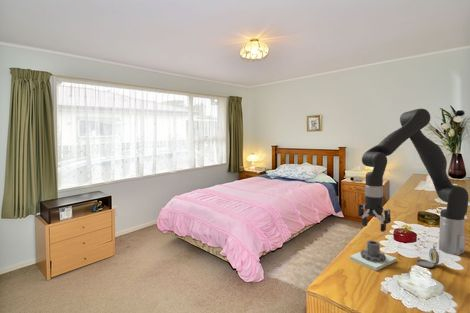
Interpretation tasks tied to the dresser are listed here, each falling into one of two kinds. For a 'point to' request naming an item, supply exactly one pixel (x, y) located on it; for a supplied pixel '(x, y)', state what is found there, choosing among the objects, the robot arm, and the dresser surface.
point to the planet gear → (373, 252)
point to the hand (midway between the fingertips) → (373, 228)
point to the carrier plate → (374, 264)
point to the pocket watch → (434, 260)
